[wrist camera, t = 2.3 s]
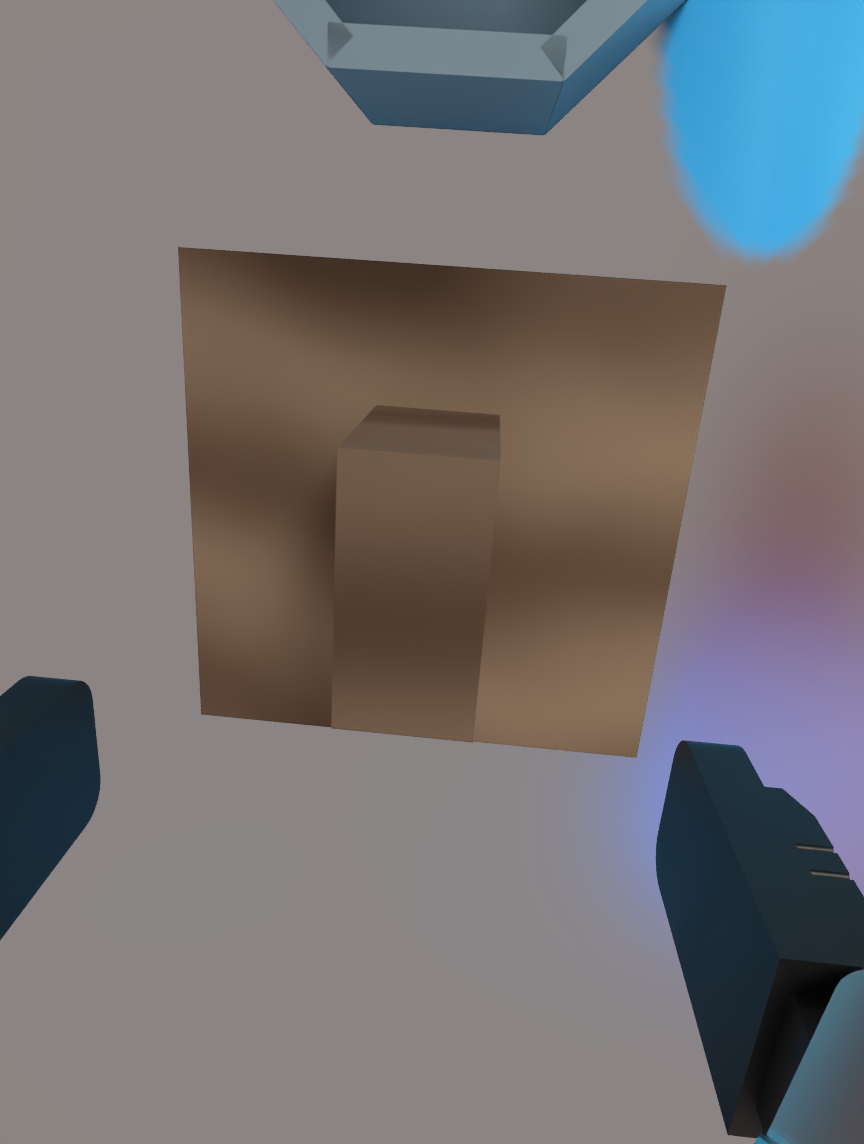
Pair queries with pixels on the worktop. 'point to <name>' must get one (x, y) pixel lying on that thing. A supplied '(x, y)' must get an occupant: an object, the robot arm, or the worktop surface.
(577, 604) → the lid
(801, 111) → the worktop surface
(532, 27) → the bowl
